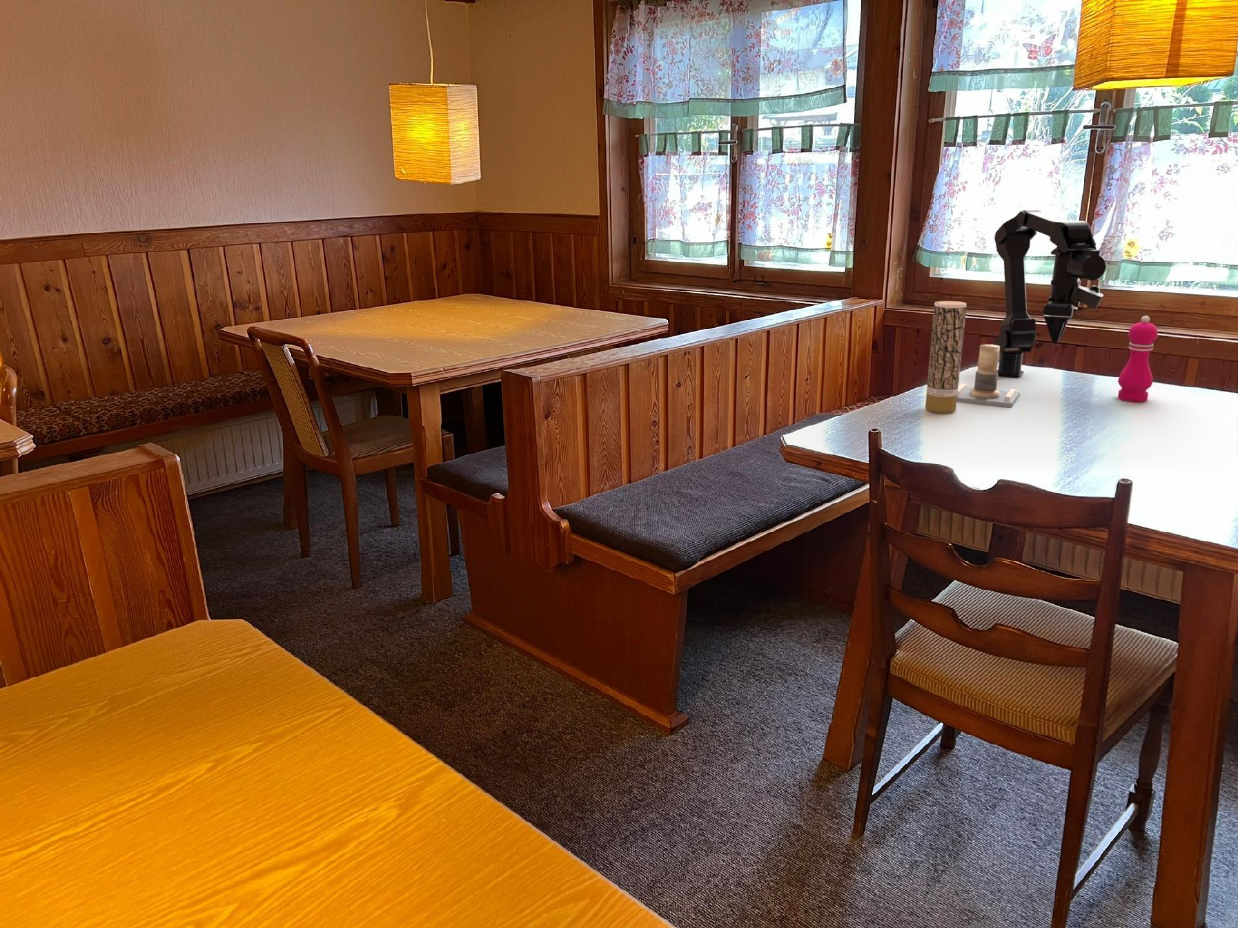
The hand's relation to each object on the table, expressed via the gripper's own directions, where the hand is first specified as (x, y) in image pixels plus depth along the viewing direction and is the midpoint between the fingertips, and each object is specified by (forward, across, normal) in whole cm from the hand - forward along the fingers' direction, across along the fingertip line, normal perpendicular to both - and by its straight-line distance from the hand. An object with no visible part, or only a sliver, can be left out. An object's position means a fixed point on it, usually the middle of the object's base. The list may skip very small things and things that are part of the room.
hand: (1057, 340), depth 222 cm
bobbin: (+12, -15, +13) cm, 23 cm away
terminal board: (+13, -14, +13) cm, 23 cm away
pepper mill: (+13, +1, -18) cm, 22 cm away
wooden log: (+13, -30, +20) cm, 38 cm away
